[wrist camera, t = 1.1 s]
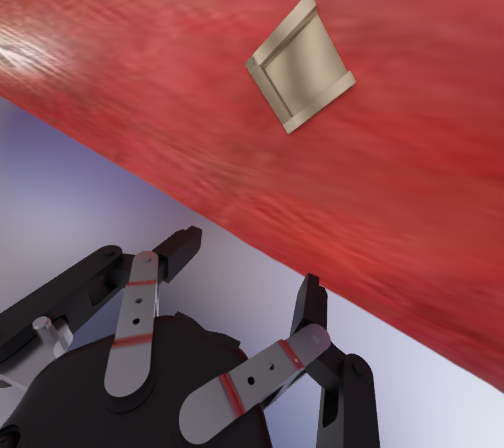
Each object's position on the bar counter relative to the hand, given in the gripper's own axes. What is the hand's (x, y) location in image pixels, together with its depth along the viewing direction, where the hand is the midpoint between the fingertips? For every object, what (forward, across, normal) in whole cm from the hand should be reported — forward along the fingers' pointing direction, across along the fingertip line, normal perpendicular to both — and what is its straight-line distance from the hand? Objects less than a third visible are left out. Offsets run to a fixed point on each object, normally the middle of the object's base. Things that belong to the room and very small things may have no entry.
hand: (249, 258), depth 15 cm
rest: (+26, +4, -13) cm, 29 cm away
